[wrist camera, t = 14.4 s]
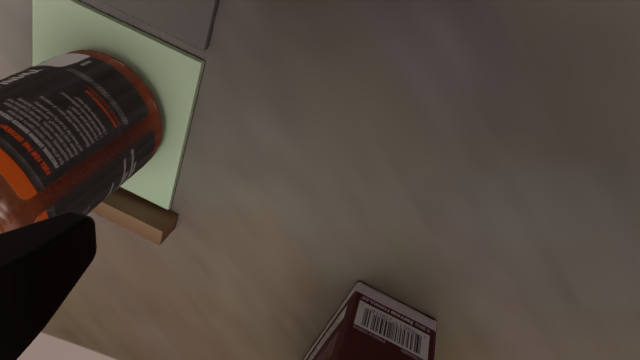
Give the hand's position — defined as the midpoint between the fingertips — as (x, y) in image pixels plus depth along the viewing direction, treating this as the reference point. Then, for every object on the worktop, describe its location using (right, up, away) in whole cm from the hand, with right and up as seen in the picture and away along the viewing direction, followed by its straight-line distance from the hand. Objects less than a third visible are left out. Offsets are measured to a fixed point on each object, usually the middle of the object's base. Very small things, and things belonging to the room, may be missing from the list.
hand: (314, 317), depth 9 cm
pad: (-10, +6, +14) cm, 18 cm away
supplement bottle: (-10, +6, +14) cm, 18 cm away
